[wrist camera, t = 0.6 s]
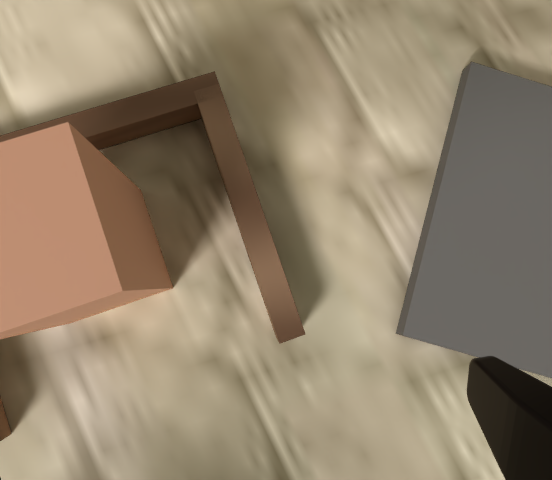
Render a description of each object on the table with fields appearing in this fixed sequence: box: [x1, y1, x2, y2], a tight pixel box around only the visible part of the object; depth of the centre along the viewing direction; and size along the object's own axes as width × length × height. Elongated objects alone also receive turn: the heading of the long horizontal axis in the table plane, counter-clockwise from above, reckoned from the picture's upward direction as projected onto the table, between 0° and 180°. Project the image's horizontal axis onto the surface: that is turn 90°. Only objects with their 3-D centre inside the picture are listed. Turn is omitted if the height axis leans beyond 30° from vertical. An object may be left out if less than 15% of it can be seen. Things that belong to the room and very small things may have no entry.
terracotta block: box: [0, 122, 173, 339], centre depth 18 cm, size 5×5×10 cm
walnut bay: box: [0, 72, 305, 441], centre depth 22 cm, size 13×15×2 cm
